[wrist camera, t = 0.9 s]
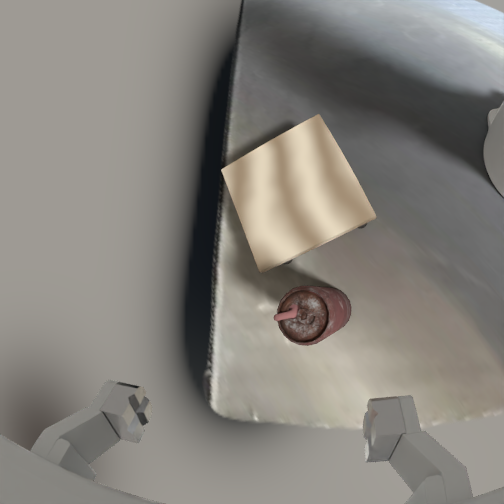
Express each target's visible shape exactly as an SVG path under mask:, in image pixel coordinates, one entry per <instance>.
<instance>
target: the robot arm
mask: <svg viewBox="0 0 504 504" xmlns="http://www.w3.org/2000/svg"><path fill="white" fill-rule="evenodd" d="M487 119H488V128H489V129H488V133H487V136H486V139H485V142H484V150H483V152H484V162H485V166H486V169H487V172H488V175H489V177H490V179H491V181H492V182H493V184H494V186H495V187H496V189H497V190H498V191H499V192H500V194H501V195H502V196H503V197H504V101H503V103H502V104H501V106H500V108H497V109H492V110H490V112H489V113H488V116H487ZM145 394H146V391H145V389H144V388H143V387H141V386H136V385H131V384H126V383H122V382H117V381H113V380H108V381H106V382H105V383H104V385H103V386H102V388H101V390H100V391H99V393H98V394H97V396H96V397H95V399H94V400H93V402H92V404H91V405H90V407H89V408H88V407H85V408H84V409H82V410H80V411H78V412H76V413H74V414H73V415H71V416H69V417H67V418H65V419H63V420H61V421H60V422H58V423H56V424H54V425H52V426H50V427H48V428H46V429H45V430H43V432H42V433H41V435H40V437H39V438H38V440H37V441H36V443H35V444H34V446H33V447H32V449H31V450H30V451H29V450H27V449H25V448H23V447H21V446H19V445H18V444H16V443H14V442H12V441H11V440H9V439H8V438H6V437H4V436H3V435H1V434H0V504H164V503H160V502H157V501H153V500H149V499H146V498H142V497H139V496H136V495H132V494H129V493H126V492H123V491H120V490H117V489H114V488H111V487H109V486H106V485H103V484H100V483H98V482H95V481H94V479H95V477H96V472H95V471H94V470H93V469H92V468H91V467H90V465H89V464H90V463H91V462H93V461H94V460H95V459H97V458H98V457H99V456H101V455H102V454H103V453H104V452H106V451H107V450H108V449H109V448H111V447H112V446H114V445H115V444H116V443H117V442H119V441H120V439H122V440H127V441H130V442H135V443H139V442H140V440H141V437H142V435H143V433H144V427H143V426H144V425H145V424H146V423H148V422H149V420H150V418H151V413H152V405H151V402H150V400H149V399H147V398H146V397H145ZM367 407H368V411H367V412H366V413H365V416H364V422H363V434H364V438H365V439H366V440H367V441H366V444H365V458H366V462H379V461H389V463H390V464H391V465H392V467H393V468H394V469H395V470H396V471H397V473H398V474H399V475H400V477H401V478H402V479H403V480H404V481H405V483H406V484H407V485H408V486H409V488H410V489H411V490H412V491H413V495H412V496H411V497H410V498H409V499H408V500H407V501H406V503H405V504H504V487H502V488H499V489H496V490H494V491H491V492H488V493H485V494H482V495H479V496H476V497H473V495H472V490H471V486H470V481H469V478H468V473H467V469H466V467H465V466H464V465H463V464H462V463H461V462H460V461H458V460H457V459H456V458H455V457H454V456H453V455H452V454H450V453H449V452H448V451H447V450H446V449H445V448H444V447H442V446H441V445H440V444H439V443H438V442H437V441H436V440H435V439H434V438H432V437H431V436H430V435H429V434H428V433H427V432H426V431H421V428H420V424H419V420H418V416H417V412H416V408H415V404H414V400H413V397H412V396H411V395H408V396H398V397H397V396H395V397H385V398H374V399H369V401H368V405H367Z"/></svg>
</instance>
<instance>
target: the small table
mask: <svg viewBox="0 0 504 504" xmlns="http://www.w3.org/2000/svg"><path fill="white" fill-rule="evenodd" d="M221 171H222V173H223V176H224V179H225V181H226V184H227V187H228V189H229V192H230V195H231V197H232V200H233V203H234V205H235V208H236V211H237V213H238V216H239V219H240V221H241V224H242V227H243V229H244V232H245V235H246V237H247V240H248V243H249V245H250V248H251V251H252V253H253V256H254V259H255V261H256V264H257V267H258V269H259V272H262V273H264V272H266V271H268V270H270V269H272V268H274V267H276V266H279V265H281V264H289V263H290V262H291V261H292V259H293V258H295V257H297V256H300V255H302V254H304V253H306V252H308V251H310V250H312V249H314V248H316V247H318V246H320V245H322V244H325V243H327V242H329V241H331V240H333V239H335V238H337V237H339V236H341V235H343V234H345V233H347V232H349V231H351V230H353V229H355V228H364V227H365V226H366V225H367V222H369V221H372V220H374V219H376V215H375V213H374V211H373V209H372V207H371V205H370V203H369V201H368V199H367V197H366V195H365V193H364V191H363V189H362V188H361V186H360V184H359V182H358V180H357V178H356V176H355V175H354V173H353V171H352V169H351V167H350V165H349V164H348V162H347V160H346V158H345V157H344V155H343V153H342V151H341V150H340V148H339V146H338V144H337V143H336V141H335V139H334V138H333V136H332V134H331V133H330V131H329V129H328V128H327V126H326V124H325V123H324V121H323V120H322V118H321V116H320V115H319V114H318V115H316V116H314V117H312V118H310V119H308V120H306V121H305V122H303V123H301V124H299V125H297V126H295V127H294V128H292V129H290V130H288V131H286V132H284V133H283V134H281V135H279V136H277V137H276V138H274V139H272V140H270V141H269V142H267V143H265V144H263V145H262V146H260V147H258V148H256V149H255V150H253V151H251V152H250V153H248V154H246V155H245V156H243V157H241V158H240V159H238V160H236V161H235V162H233V163H231V164H230V165H228V166H226V167H225V168H223V169H221Z"/></svg>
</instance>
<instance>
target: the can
mask: <svg viewBox="0 0 504 504" xmlns="http://www.w3.org/2000/svg"><path fill="white" fill-rule="evenodd" d="M350 315H351V304H350V301H349V299H348V297H347V296H346V295H345V294H344V293H343V292H342V291H341V290H338V289H335V288H328V287H316V286H300V287H296V288H293V289H292V290H290V291H289V292H288V293H286V294H285V296H284V297H283V298H282V299H281V301H280V304H279V306H278V309H277V314H276V315H275V316H274V320H276V321H278V325H279V328H280V330H281V331H282V333H283V335H284V336H285V337H286V338H288V339H289V340H290V341H291V342H294V343H296V344H298V345H307V346H308V345H312V344H316V343H318V342H320V341H322V340H323V339H325V338H326V337H328V336H330V335H331V334H333V333H334V332H336V331H338V330H339V329H341V328H342V327H344V326H345V324H346V323H347V322H348V321H349V318H350Z"/></svg>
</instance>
